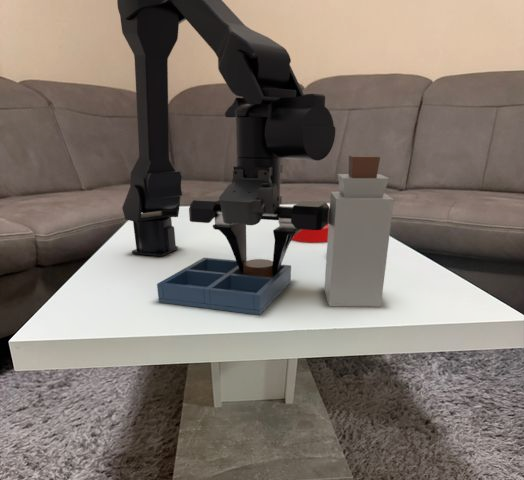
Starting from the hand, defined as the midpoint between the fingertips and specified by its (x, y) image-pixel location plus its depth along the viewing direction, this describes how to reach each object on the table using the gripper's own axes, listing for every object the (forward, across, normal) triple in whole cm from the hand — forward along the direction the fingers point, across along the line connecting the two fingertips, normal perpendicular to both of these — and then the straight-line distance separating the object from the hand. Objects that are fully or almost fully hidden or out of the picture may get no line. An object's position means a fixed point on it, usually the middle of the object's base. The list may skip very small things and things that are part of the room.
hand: (258, 273), depth 66 cm
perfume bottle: (+2, +14, 0) cm, 14 cm away
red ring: (+2, 0, +36) cm, 36 cm away
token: (+1, 0, 0) cm, 1 cm away
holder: (+2, -3, -3) cm, 5 cm away
